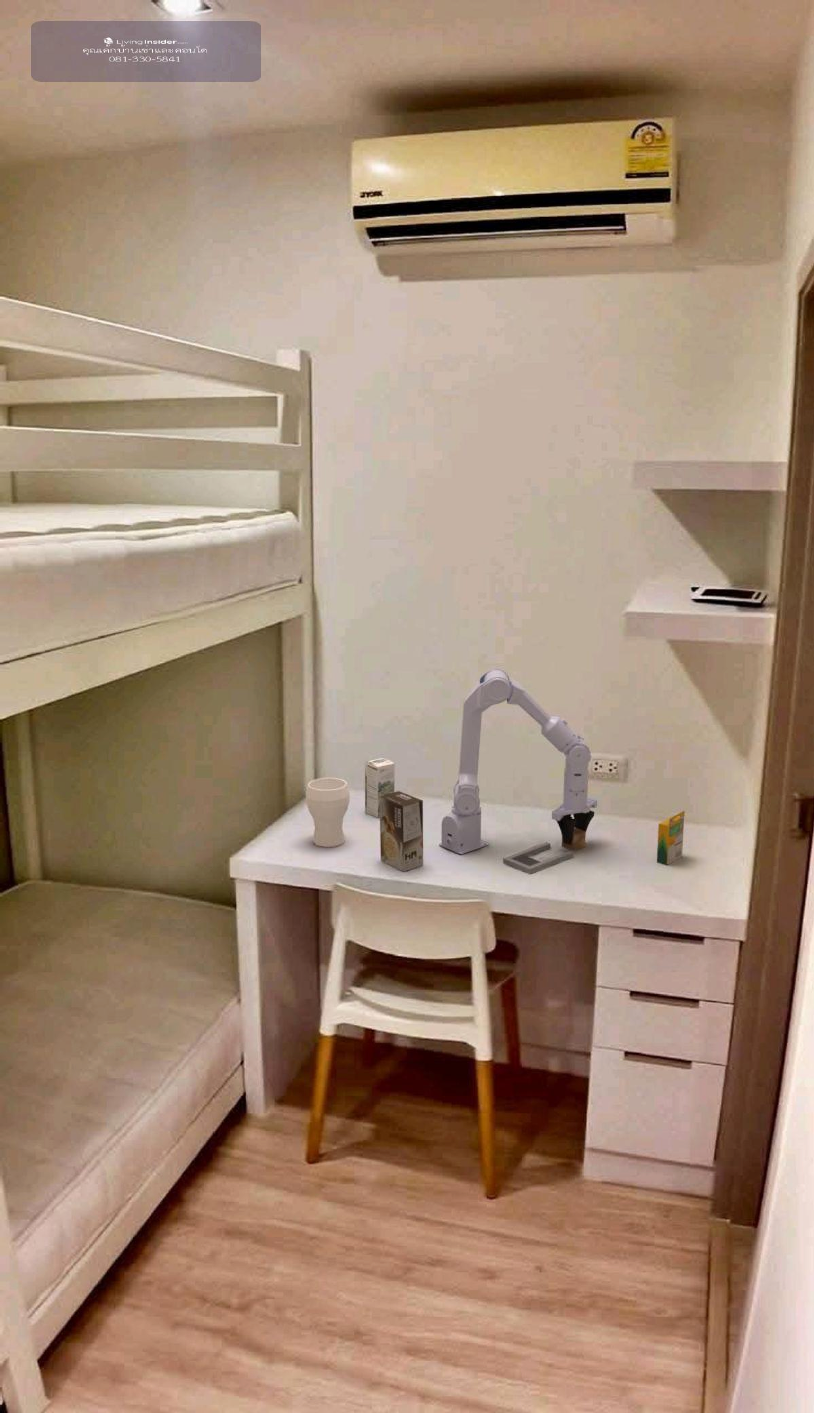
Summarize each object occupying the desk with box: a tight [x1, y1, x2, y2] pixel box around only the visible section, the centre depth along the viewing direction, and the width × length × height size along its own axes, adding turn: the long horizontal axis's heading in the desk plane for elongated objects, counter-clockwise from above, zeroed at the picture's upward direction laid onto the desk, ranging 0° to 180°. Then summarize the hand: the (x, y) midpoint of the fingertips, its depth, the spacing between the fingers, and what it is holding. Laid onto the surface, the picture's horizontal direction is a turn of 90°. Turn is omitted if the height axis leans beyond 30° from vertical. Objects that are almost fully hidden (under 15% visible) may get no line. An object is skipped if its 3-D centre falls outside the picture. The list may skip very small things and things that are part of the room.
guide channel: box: [502, 841, 574, 875], centre depth 237 cm, size 15×8×1 cm, turn 131°
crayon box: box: [656, 810, 686, 866], centre depth 236 cm, size 7×3×12 cm, turn 137°
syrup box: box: [364, 757, 396, 819], centre depth 266 cm, size 6×6×14 cm
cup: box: [305, 777, 350, 848], centre depth 247 cm, size 11×11×15 cm
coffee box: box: [379, 790, 424, 872], centre depth 234 cm, size 9×6×16 cm
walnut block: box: [561, 828, 587, 852], centre depth 244 cm, size 4×4×4 cm
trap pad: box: [518, 856, 541, 866], centre depth 235 cm, size 4×5×1 cm
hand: (573, 841), depth 245 cm, fingers closed on walnut block, 4 cm apart
